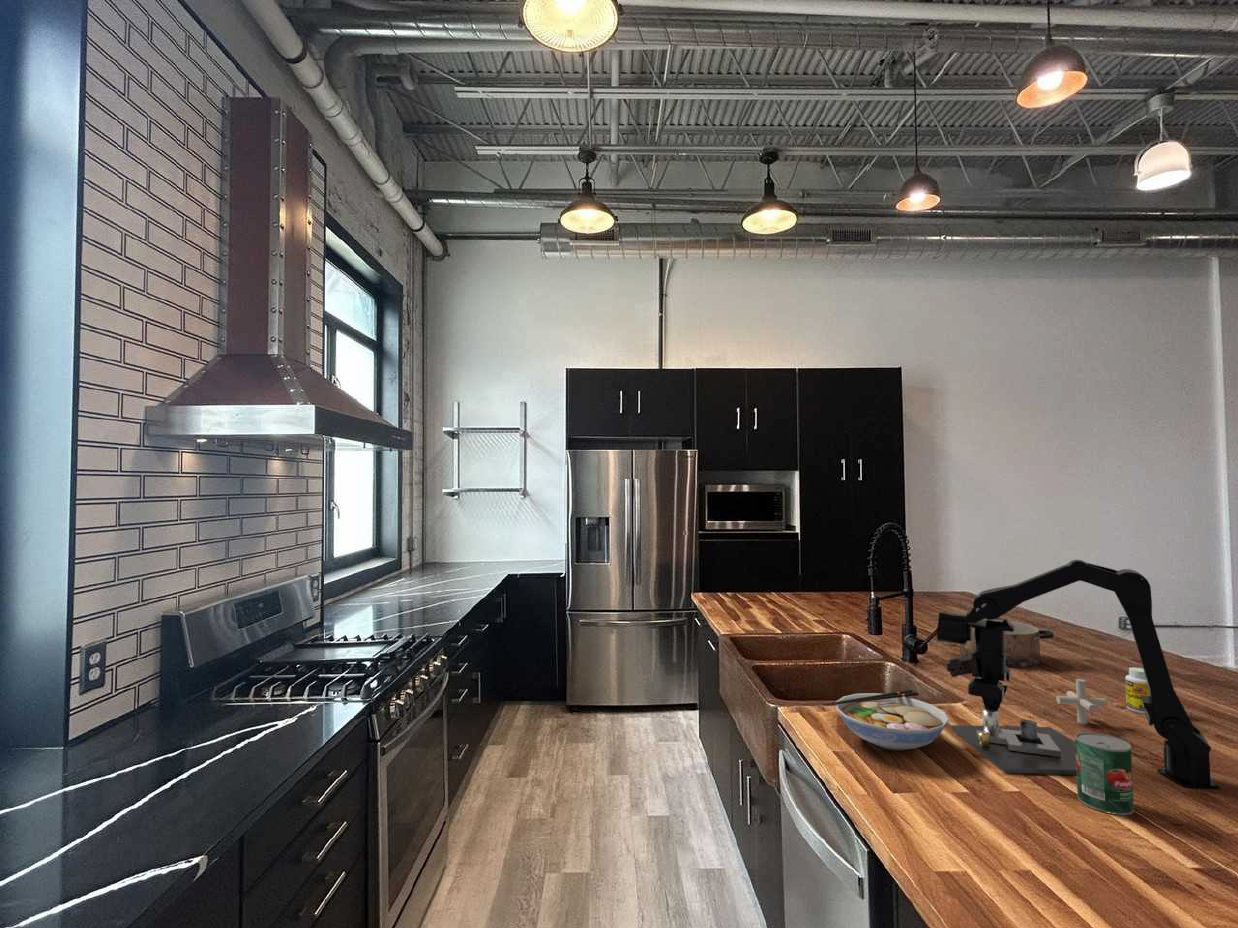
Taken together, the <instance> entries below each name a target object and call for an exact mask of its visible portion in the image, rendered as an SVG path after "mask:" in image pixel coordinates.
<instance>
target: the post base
mask: <svg viewBox="0 0 1238 928" xmlns="http://www.w3.org/2000/svg"><path fill="white" fill-rule="evenodd" d="M1019 723H1020V724H1019V725H1020V726H1017V725H1016V726H1011V725H1010V726H1009V725H1006V726H1005V725H999V733H1000V729H1007V730H1015V731H1020V732H1021V740H1019V742H1025V743H1033V744H1039V743H1038V736H1037V733H1040V734H1048V735H1049V736H1050V737H1051V739H1052V740H1053V741H1054V743H1055V744H1056V745H1057V747H1058V748H1059V749H1060V751H1061V757H1057V756H1050V755H1042V754H1034V753H1027V752H1019V751H1012V750H1009V749H1008V747H1007V745H1006V744H998V743H990V742H989V733H987V732H982V731H983V725H967V724H966V725H965V724H963V725H960V724H959V725H958V724H957V725H956V724H951V731H953V732H954V733H955V734H956V735H958V737H960V738H961V739H962V740H963V741H965V742H966V743H967V744H968V745H970V746H971V747H972V748H973V749H975V750H976V751H977V752H978V753H980V754H981V755H982V756H983V757H984V758H985V759H987V760H988V761H990V762H991V763H992V764H993V765H995V767H997V768H998V769H999V770H1000V771H1002V772H1003V773H1004V774H1009V775H1010V774H1011V775H1012V774H1015V775H1016V774H1018V775H1051V776H1052V775H1056V776H1057V775H1059V776H1061V775H1063V776H1077V769H1076V746H1075V744H1076V743H1075V740H1073V739H1071V738H1069V737H1068V736H1065V735H1064V734H1062V733H1061V732H1058V730H1056V729H1054V728H1052V727H1051V726H1038V723H1037V721H1034V720H1030V719H1020V720H1019ZM976 730H978V731H980V732H978V737H979V740H978V738H977V736H976Z"/></svg>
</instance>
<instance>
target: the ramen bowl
mask: <svg viewBox="0 0 1238 928" xmlns="http://www.w3.org/2000/svg"><path fill="white" fill-rule="evenodd" d="M916 696H919V692H917V691H914V690H913V689H907V690H906V689H904V690H899V691H894V692H888V693H877V692H876V693H875V692H871V693H870V692H869V693H866V692H865V693H853V694H848V695H845V696H842V697H841V698H839V699H837V700H836V701H832V702H828V703H823V704H822V705H823V706H833V705H835V708H836V710H837V713H838V714H839V716H840V718H841V719H842V721H843V723H844V724H845V725H846V726H847V727H848V729H849V730H851V731H852V733H854V735H855V734H856V736H858V737H859V738H861V739H862V740H864V741H866V742H868V743H871V744H874V745H875V746H877V747H879V748H881V749H885V750H889V751H896V752H898V751H906V750H912V749H914V750H915V749H918V748H921V747H925V746H927V745H930V744H932V743H933V742H934V741H935V740H936V739H937V737H939V735H941V733H942V732H943V731H944V729H945V728H946V727H947V725H948V723H949V721H950V718H949V716H948V715H947V713H946V712H945V711H944V710H942V709H940V708H939V707H937V706H935V705H933V704H931V703H928V702H926V701H922V700H919V699H915V698H912V697H916Z"/></svg>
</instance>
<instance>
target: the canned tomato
mask: <svg viewBox="0 0 1238 928" xmlns="http://www.w3.org/2000/svg"><path fill="white" fill-rule="evenodd" d="M1074 738H1075V740H1074V742H1075V743H1076V744H1075V746H1076V769H1077V775H1076V791H1077V792H1076V793H1077V795H1076V797H1078V798H1077V799H1079V800H1080V801H1081V802H1083V803H1084V804H1085V805H1084V804H1083V803H1082V804H1083V805H1084V806H1086V805H1087V806H1086V807H1088V806H1089V807H1088V808H1090V807H1091V808H1090V809H1092V808H1093V810H1095V809H1097V810H1100V811H1104V812H1110V813H1113V814H1114V813H1115V814H1120V815H1119V816H1130V815H1132V814H1134V812H1135V807H1134V785H1133V765H1132V764H1133V760H1132V759H1133V757H1132V745H1131V744H1130V743H1129V742H1127V741H1125V740H1123V739H1121V738H1118V737H1115V736H1113V735H1110V734H1109V735H1108V734H1104V733H1097V732H1091V731H1090V732H1088V731H1086V732H1077V733H1076V734H1074ZM1079 800H1078V801H1079ZM1080 801H1079V802H1080ZM1081 802H1080V803H1081ZM1097 810H1096V811H1097ZM1100 811H1099V812H1100ZM1104 812H1103V813H1104ZM1113 814H1112V815H1113Z"/></svg>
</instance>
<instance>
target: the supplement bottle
mask: <svg viewBox="0 0 1238 928" xmlns="http://www.w3.org/2000/svg"><path fill="white" fill-rule="evenodd" d="M1140 695H1144V696H1148V683H1147V680H1146V676H1145V673H1144V670H1143V667H1142V668H1141V667H1129V668H1128V674H1127V675H1125V703H1126V708H1127V709H1128V710H1130V711H1132V712H1134V713H1139V714H1142V715H1143V714H1144V715H1145V712H1146V708H1145V706H1144V704H1143V702H1142V700H1141V697H1140Z"/></svg>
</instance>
